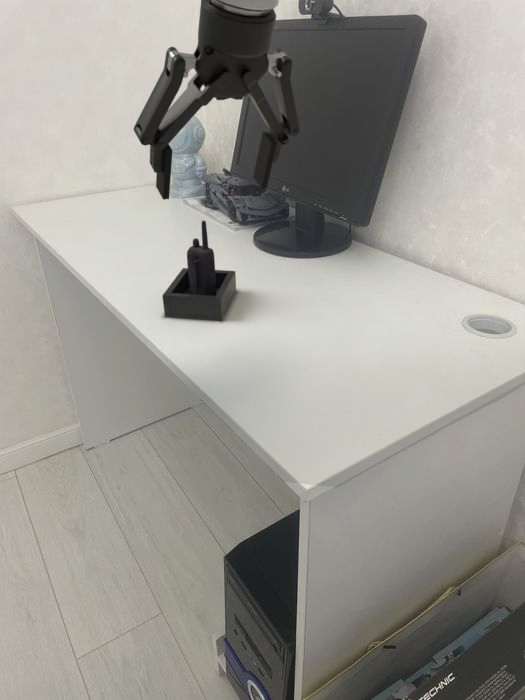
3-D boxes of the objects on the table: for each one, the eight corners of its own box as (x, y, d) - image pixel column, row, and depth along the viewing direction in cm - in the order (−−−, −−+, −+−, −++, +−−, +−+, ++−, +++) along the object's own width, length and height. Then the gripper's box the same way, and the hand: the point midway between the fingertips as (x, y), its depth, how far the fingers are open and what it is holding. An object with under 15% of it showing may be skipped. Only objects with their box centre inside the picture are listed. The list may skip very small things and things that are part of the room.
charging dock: (164, 317, 92) (162, 295, 90) (184, 288, 102) (182, 267, 100) (221, 321, 91) (220, 299, 88) (236, 291, 101) (235, 270, 99)
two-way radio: (220, 299, 96) (216, 220, 88) (204, 308, 93) (198, 227, 85) (198, 292, 99) (192, 214, 91) (182, 300, 96) (174, 221, 88)
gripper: (124, 11, 44) (125, 216, 60) (362, 22, 54) (308, 195, 70) (100, -24, 47) (107, 179, 63) (327, -7, 58) (283, 163, 74)
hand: (213, 187), depth 67 cm, fingers open, 13 cm apart
